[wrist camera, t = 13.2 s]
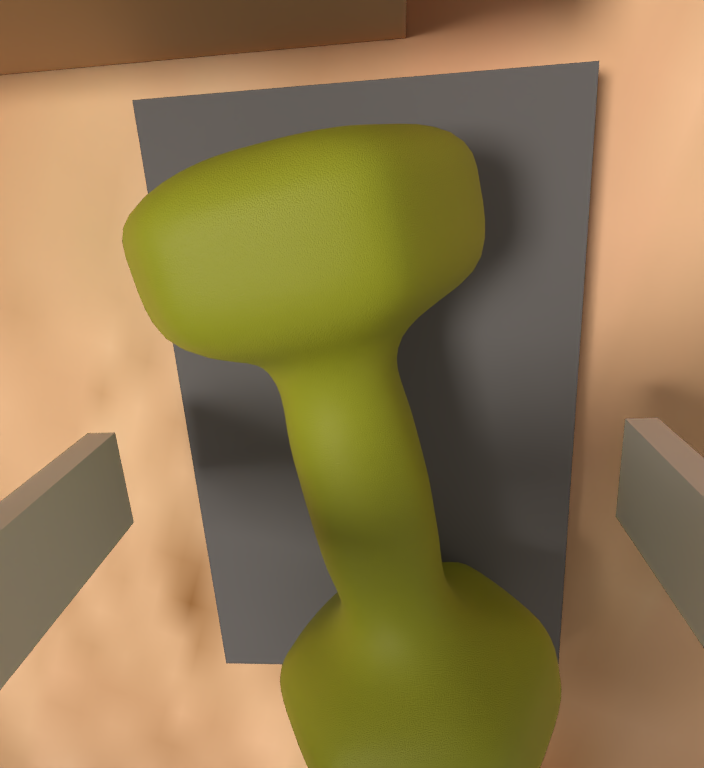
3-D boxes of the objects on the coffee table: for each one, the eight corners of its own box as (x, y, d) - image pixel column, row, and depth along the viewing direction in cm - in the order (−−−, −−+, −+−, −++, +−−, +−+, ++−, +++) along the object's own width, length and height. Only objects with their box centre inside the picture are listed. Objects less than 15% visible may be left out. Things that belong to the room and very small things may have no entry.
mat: (237, 633, 23) (226, 663, 21) (155, 107, 17) (132, 100, 15) (547, 636, 22) (558, 668, 20) (581, 72, 15) (599, 60, 14)
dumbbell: (537, 626, 20) (609, 859, 13) (314, 653, 21) (272, 878, 14) (457, 115, 15) (505, 53, 8) (171, 188, 16) (-1, 189, 9)
